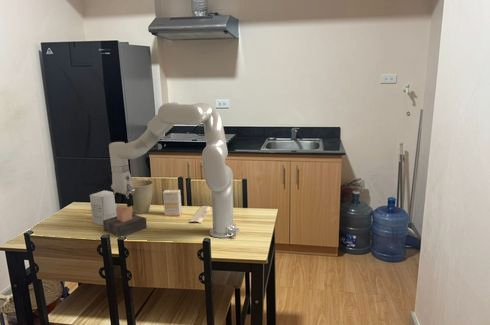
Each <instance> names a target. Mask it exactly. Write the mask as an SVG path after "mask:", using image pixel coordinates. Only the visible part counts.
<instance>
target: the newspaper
mask: <svg viewBox="0 0 490 325" xmlns="http://www.w3.org/2000/svg"><path fill="white" fill-rule="evenodd" d="M210 208H211V209H212V206H208V205H204V206H200V207H199V209H198V210H197V211H196V212H195V213H194V215H193V216H192V217H191V219H190V220H189V222H188V223H189V224H191V222H197V223H199V224H202V222H203V220H204V219H205V217H207V215H208V213H209V212H210V210H211V209H210ZM208 211H209V212H208ZM206 214H207V215H206Z"/></svg>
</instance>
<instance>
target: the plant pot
mask: <svg viewBox="0 0 490 325" xmlns="http://www.w3.org/2000/svg"><path fill="white" fill-rule="evenodd" d="M132 184H133V189H134V190H135V191H134V197H133V203H134V205H133V206H131V209H132V211H133V213H134V214H135V215H142V214H146V213H149V210H150V208H151V203H152V200H153V193H154V181H153V180H149V179H139V180H138V179H137V180H132ZM127 192H128V191H127ZM128 195H129V194H128Z"/></svg>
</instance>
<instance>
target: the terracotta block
mask: <svg viewBox="0 0 490 325" xmlns="http://www.w3.org/2000/svg"><path fill="white" fill-rule="evenodd" d="M132 212H133V208H132V206H130V207H127V204H124V205H120V206H117V207H116V214H117V220H119V221H122V222H125V221H128V220H131V219H132V214H133V213H132Z"/></svg>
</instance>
